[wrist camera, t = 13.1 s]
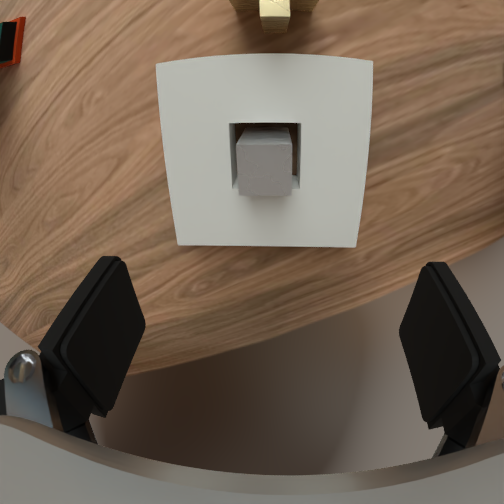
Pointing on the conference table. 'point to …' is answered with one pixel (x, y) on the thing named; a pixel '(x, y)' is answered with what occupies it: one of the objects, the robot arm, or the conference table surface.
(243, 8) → the cross bar
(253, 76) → the socket block
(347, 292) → the conference table surface
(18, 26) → the power tool
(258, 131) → the square bar
